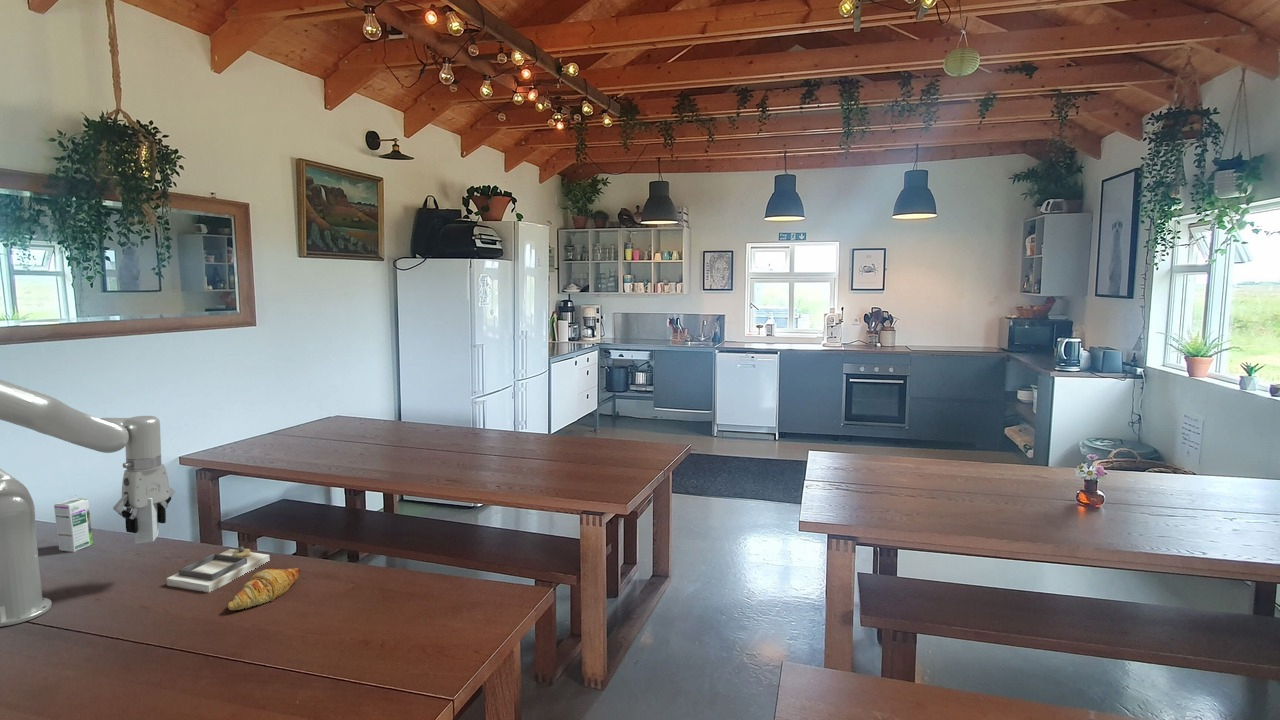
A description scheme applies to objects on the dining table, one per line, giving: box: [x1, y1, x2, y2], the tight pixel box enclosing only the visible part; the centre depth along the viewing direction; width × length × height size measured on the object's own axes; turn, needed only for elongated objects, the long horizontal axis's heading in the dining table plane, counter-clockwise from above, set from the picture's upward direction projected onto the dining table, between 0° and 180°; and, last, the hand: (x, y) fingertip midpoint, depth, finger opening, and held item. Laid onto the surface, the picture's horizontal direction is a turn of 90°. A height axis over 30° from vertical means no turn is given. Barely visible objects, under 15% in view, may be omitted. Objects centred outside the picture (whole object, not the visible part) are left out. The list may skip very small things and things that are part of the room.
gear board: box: [166, 545, 271, 593], centre depth 185 cm, size 20×14×5 cm
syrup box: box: [53, 497, 94, 553], centre depth 200 cm, size 6×6×14 cm
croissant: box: [227, 567, 302, 611], centre depth 173 cm, size 21×10×8 cm, turn 161°
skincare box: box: [133, 498, 159, 544], centre depth 179 cm, size 6×4×12 cm
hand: (146, 526), depth 179 cm, fingers closed on skincare box, 7 cm apart
